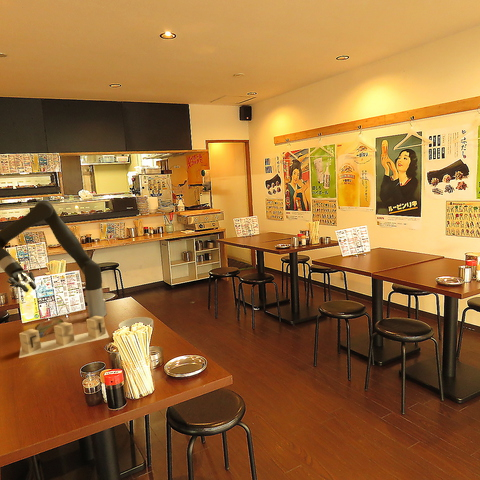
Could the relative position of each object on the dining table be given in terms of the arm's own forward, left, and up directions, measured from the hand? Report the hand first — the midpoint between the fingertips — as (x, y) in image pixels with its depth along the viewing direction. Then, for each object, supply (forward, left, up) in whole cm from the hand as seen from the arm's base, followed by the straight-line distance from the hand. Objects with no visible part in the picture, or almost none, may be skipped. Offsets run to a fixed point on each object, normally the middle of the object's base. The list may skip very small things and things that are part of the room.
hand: (31, 289), depth 202 cm
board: (-1, +22, -26) cm, 34 cm away
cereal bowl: (-23, +49, -26) cm, 60 cm away
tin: (-5, +3, -26) cm, 27 cm away
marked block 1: (-13, +30, -25) cm, 41 cm away
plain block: (-1, +22, -25) cm, 33 cm away
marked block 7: (+12, +14, -25) cm, 31 cm away
